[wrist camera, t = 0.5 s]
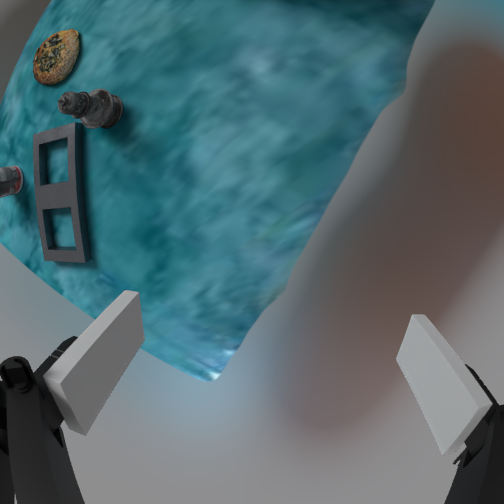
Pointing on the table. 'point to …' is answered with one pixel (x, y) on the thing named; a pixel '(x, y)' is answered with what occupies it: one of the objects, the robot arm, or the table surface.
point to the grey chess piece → (92, 107)
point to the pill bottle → (10, 180)
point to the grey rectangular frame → (61, 194)
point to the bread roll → (56, 57)
